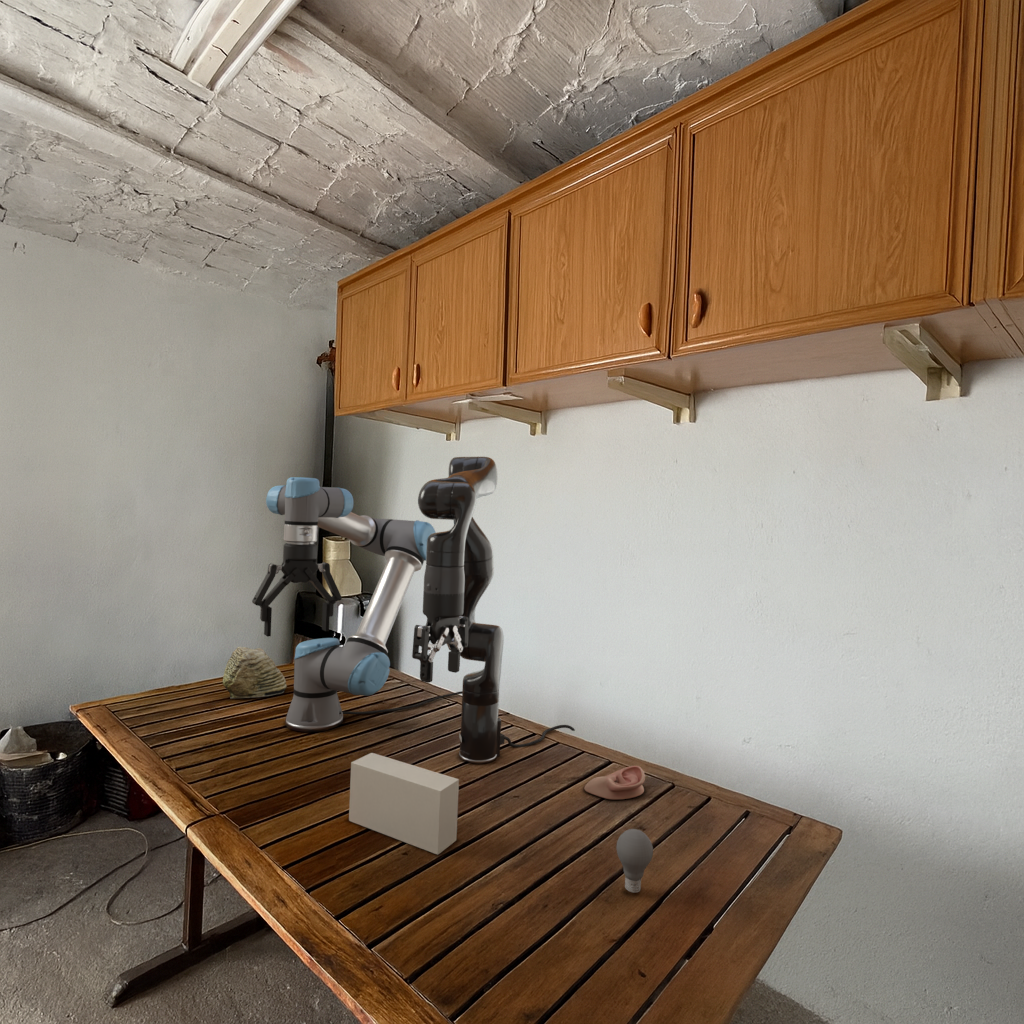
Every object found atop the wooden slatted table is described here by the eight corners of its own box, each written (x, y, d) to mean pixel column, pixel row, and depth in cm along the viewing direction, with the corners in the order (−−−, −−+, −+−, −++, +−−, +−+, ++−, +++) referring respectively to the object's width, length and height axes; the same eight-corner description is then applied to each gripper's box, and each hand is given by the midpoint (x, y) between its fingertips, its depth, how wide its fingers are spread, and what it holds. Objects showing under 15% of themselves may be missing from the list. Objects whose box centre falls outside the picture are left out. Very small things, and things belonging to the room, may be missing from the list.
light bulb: (610, 879, 108) (613, 822, 108) (644, 879, 109) (647, 822, 109) (619, 902, 102) (622, 840, 102) (655, 901, 103) (658, 840, 103)
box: (348, 820, 124) (350, 762, 124) (369, 808, 130) (371, 752, 129) (437, 855, 114) (440, 791, 114) (456, 840, 119) (459, 779, 119)
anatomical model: (583, 778, 139) (588, 757, 150) (582, 795, 139) (587, 774, 150) (645, 786, 136) (645, 764, 147) (644, 804, 136) (644, 781, 148)
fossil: (218, 695, 195) (220, 647, 195) (278, 685, 208) (279, 640, 207) (228, 703, 189) (230, 653, 188) (289, 692, 201) (290, 645, 201)
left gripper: (248, 544, 139) (245, 640, 139) (357, 543, 153) (353, 631, 154) (240, 541, 145) (237, 634, 145) (345, 541, 159) (342, 625, 160)
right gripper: (437, 596, 109) (433, 689, 109) (481, 587, 121) (478, 671, 122) (403, 591, 113) (399, 681, 113) (449, 583, 125) (446, 665, 125)
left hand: (297, 632), depth 149 cm, fingers open, 13 cm apart
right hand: (440, 676), depth 117 cm, fingers open, 8 cm apart
